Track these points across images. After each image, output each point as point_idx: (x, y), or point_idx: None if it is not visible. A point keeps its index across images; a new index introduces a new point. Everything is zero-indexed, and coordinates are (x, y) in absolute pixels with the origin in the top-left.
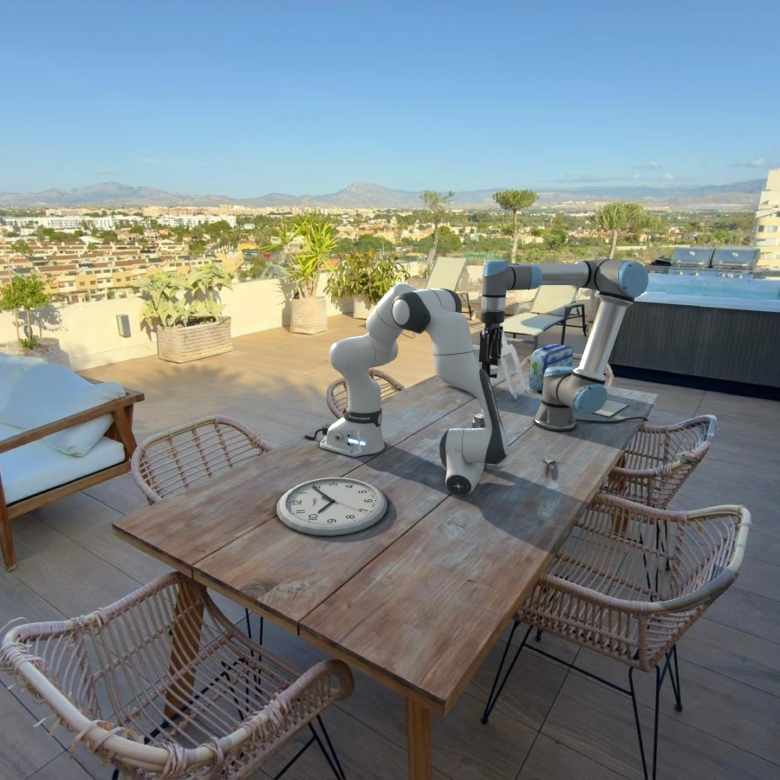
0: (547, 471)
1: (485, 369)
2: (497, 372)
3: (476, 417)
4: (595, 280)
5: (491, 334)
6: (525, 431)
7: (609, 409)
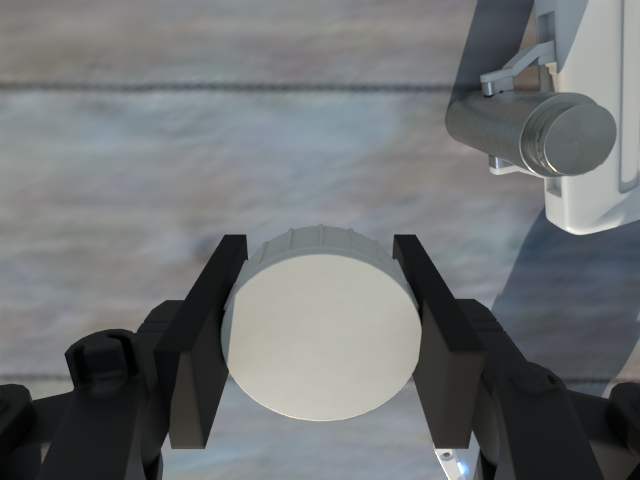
0: None
1: (498, 331)
2: (292, 230)
3: (610, 150)
4: None
5: None
6: (59, 87)
7: None
